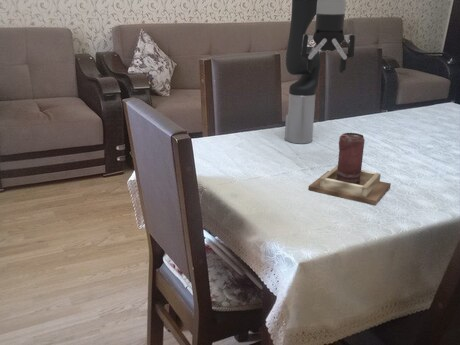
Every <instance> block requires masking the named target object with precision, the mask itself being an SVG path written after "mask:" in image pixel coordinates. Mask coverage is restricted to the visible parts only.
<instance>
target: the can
mask: <svg viewBox="0 0 460 345" xmlns="http://www.w3.org/2000/svg"><path fill="white" fill-rule="evenodd" d="M364 148H365V137H364V135H363V134H361V133H356V132H345V133H342V134H340V136H339V138H338V150H339V151H338V159H337V165H338V169H337V180H339V181H343V182H348V183H353V184H358V185H360V176H361V170H362V166H363V156H364Z"/></svg>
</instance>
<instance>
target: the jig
mask: <svg viewBox="0 0 460 345" xmlns="http://www.w3.org/2000/svg"><path fill="white" fill-rule="evenodd" d="M337 169H338V164H337V165H336V166H334V167H333V168H331V169H330V170H327V171H326V172H325V173H323V174H322V175H320V177H318V178H317V179H315V180H314V181H313V182H311V183H310V184H309V185H308V189H307V190H308V191H312V192H316V193H320V194H324V195H328V196H334V197H338V198H342V199H347V200H351V201H356V202H359V203H364V204H368V205H372V206H376V205H377V204H378V203H379V202H380V200H381V199H382V198H383V197H384V196H385V194H387V192H388V191H389V190H390V188H391V187H392V186H391V184H392V183H389V182H387V181H381V173H379V172H373V171H368V170H363V169H361V176H360V185H358V184H353V183H348V182H343V181H339V180H337Z"/></svg>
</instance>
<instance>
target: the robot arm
mask: <svg viewBox="0 0 460 345" xmlns="http://www.w3.org/2000/svg"><path fill="white" fill-rule="evenodd" d="M346 4H347V1H346V0H292V1H291V17H290V25H289V26H290V28H289V34H288V42H287V47H286V53H285V54H286V55H285V66H286V70H287V72H288V73H289V74H290V75H291V76H297V75H300V78H299V79H298V80H297V81H295V82H293V83H292V84H290V86H289V91H288V109H287V110H288V112H287V113H286V115H285V124H284V126H285V128H284V129H285V130H284V141H287V142H290V143H293V144H300V145H301V144H302V145H303V144H309V143H311V142H313V136H314V135H313V134H314V120H315V108H316V106H315V105H316V92H317V88H318V86H319V78H320V71H321V61H322V60H321V53H320V51H322V52H325V51H330V52H334V51H337V53H338V54H339V56H340V59H339V68H338V71H339V73H340V74H343V73H344V72H345V71H346V68H347V66H346V65H347V59H349V58H353V57H354V56H355V40H356V39H355V37H356V36H355V35H354V34H353V33H349V34H344V27H345V26H344V25H345V15H346V8H347V7H346ZM314 18H315V24H314V25H315V26H314V27H315V29H314V33H313V34H307V33H306V32H307V30H308V28H309V26H310V25H311V24H312V22H313V20H314ZM311 40H313V41H314V43H315V44H314V45H313V46H308V43H309V44H310V43H311ZM344 40H345V42H346V43H347V44H348V46H347V52H344V50H343V48H342V47H341V44H342V43H343V41H344Z"/></svg>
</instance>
